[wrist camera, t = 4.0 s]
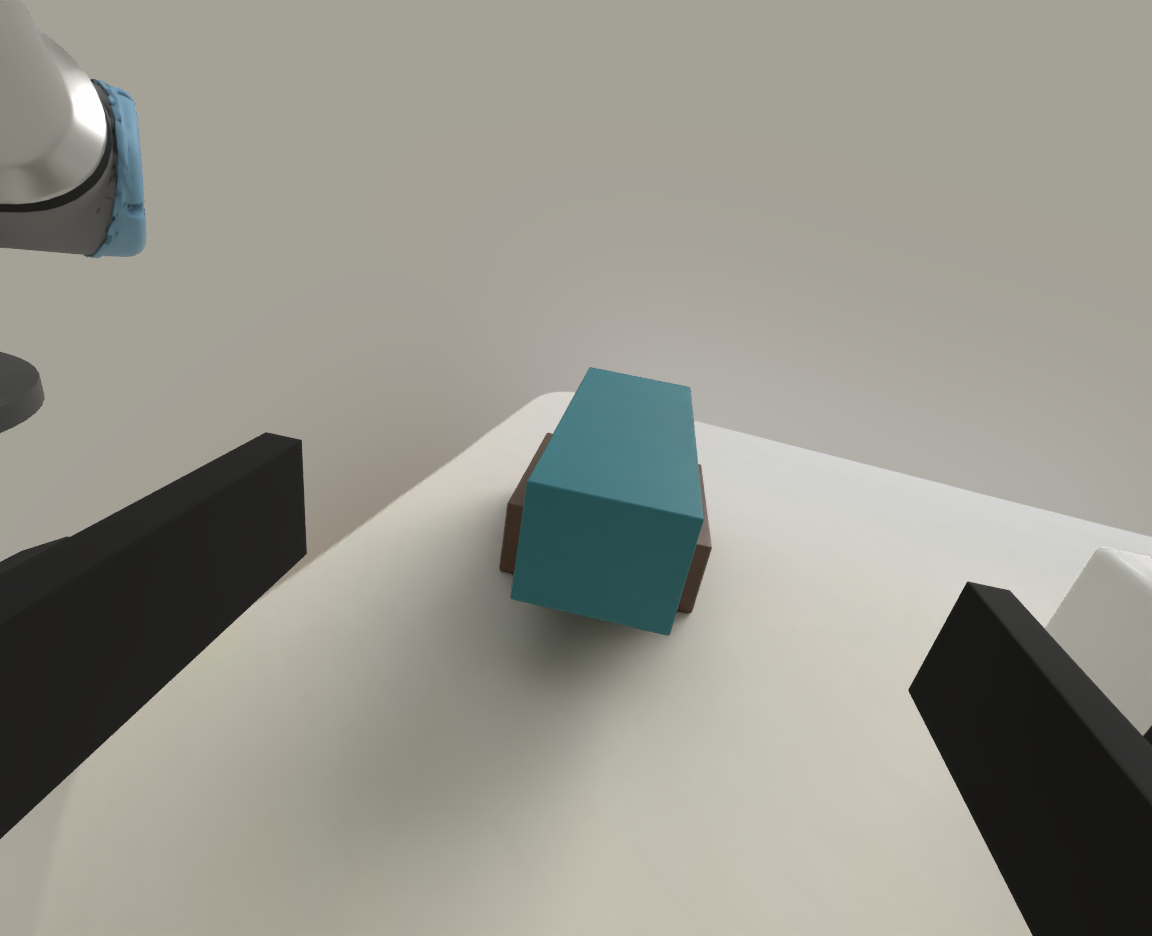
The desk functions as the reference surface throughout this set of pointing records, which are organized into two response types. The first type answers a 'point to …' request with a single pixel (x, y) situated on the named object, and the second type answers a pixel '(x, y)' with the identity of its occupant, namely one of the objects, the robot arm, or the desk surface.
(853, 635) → the desk surface
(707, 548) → the riser
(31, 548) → the robot arm
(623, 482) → the teal rectangular prism
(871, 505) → the desk surface
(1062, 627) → the medicine bottle
